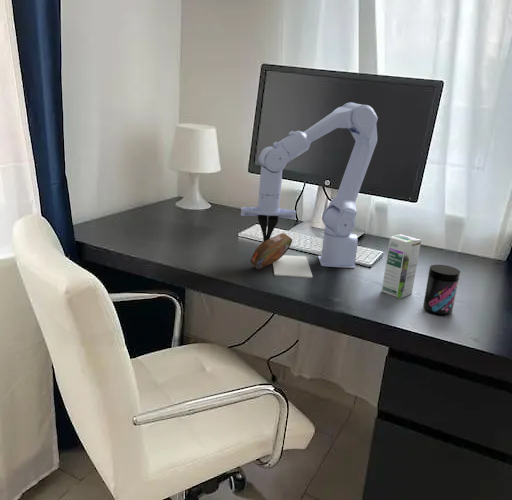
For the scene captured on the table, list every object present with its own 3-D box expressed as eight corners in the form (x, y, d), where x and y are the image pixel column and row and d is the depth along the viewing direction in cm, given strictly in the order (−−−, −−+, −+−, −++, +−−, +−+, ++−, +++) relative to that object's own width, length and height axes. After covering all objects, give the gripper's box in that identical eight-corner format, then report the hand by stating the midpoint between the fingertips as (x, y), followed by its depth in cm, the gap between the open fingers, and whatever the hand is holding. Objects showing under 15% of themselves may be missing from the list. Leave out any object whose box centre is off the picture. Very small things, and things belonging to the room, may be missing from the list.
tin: (252, 273, 146) (265, 250, 141) (243, 265, 147) (257, 242, 142) (284, 257, 157) (297, 236, 152) (276, 250, 158) (289, 228, 153)
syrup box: (380, 291, 139) (388, 236, 135) (393, 286, 143) (401, 233, 139) (400, 299, 136) (409, 242, 131) (412, 293, 140) (422, 238, 135)
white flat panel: (306, 257, 161) (306, 256, 160) (312, 277, 145) (312, 276, 145) (271, 255, 160) (271, 254, 160) (274, 275, 145) (274, 274, 145)
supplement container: (419, 312, 129) (427, 270, 125) (424, 302, 135) (432, 262, 131) (449, 319, 126) (458, 277, 123) (453, 309, 132) (462, 268, 129)
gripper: (295, 191, 150) (291, 239, 155) (242, 188, 150) (239, 236, 154) (298, 197, 144) (293, 247, 148) (242, 194, 143) (239, 244, 147)
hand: (266, 242), depth 151 cm, fingers closed
